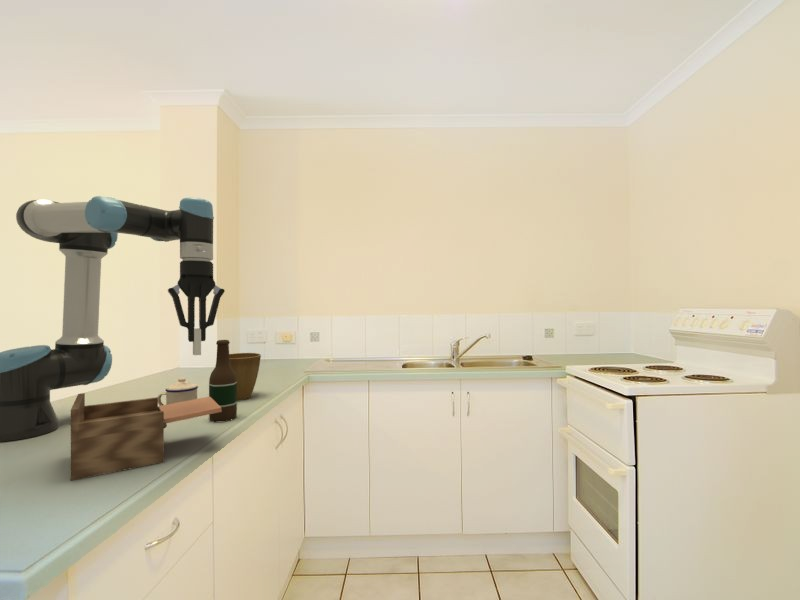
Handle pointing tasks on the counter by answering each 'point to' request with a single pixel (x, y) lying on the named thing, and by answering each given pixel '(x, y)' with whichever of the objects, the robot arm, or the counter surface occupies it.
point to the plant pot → (245, 372)
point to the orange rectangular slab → (189, 409)
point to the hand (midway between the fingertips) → (196, 354)
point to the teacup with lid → (179, 392)
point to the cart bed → (115, 436)
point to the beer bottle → (223, 384)
